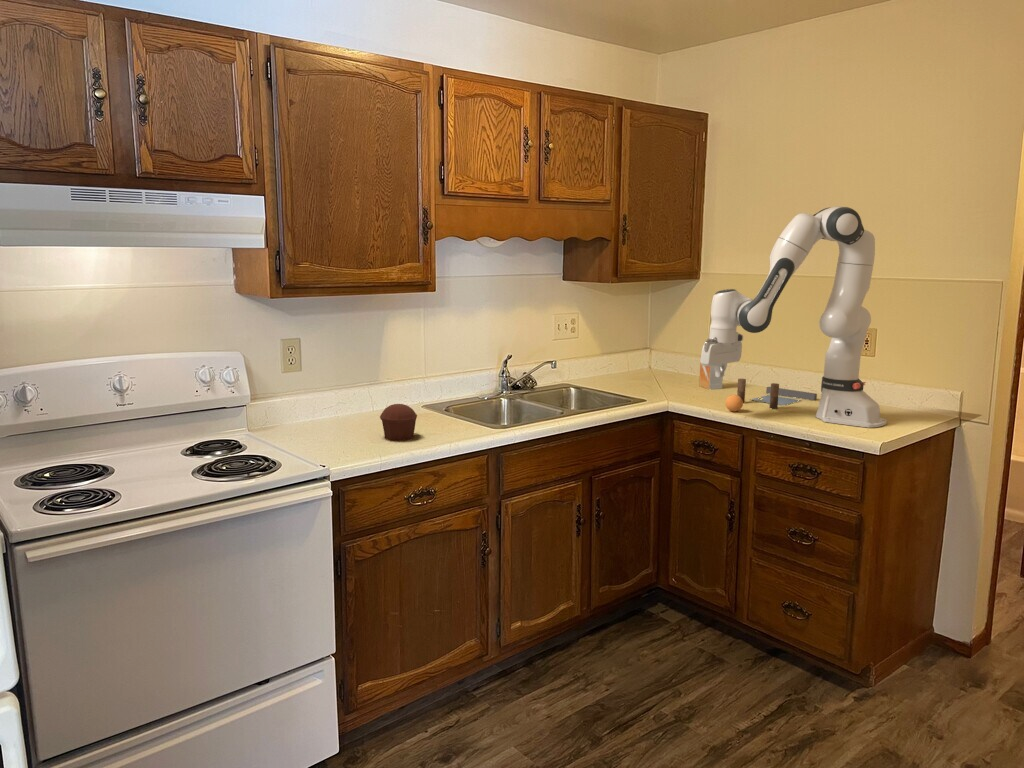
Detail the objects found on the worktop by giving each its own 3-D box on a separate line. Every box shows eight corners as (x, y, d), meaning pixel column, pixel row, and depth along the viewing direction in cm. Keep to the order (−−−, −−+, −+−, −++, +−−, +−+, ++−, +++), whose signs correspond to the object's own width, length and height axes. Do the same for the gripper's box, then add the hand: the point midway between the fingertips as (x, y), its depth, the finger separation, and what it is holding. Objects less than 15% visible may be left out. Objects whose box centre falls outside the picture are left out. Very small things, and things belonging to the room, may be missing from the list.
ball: (745, 411, 277) (746, 395, 276) (736, 413, 273) (737, 397, 272) (730, 408, 281) (731, 392, 280) (721, 411, 277) (722, 394, 276)
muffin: (423, 439, 235) (423, 406, 233) (388, 443, 229) (388, 410, 227) (408, 431, 245) (407, 399, 243) (374, 435, 239) (374, 403, 237)
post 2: (778, 408, 283) (780, 384, 282) (775, 409, 281) (776, 384, 280) (771, 407, 285) (773, 383, 284) (767, 408, 283) (769, 383, 282)
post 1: (745, 402, 293) (747, 379, 291) (741, 403, 291) (743, 380, 289) (739, 401, 295) (740, 378, 293) (735, 402, 293) (736, 379, 291)
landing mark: (801, 400, 297) (801, 400, 297) (783, 405, 288) (783, 405, 288) (768, 395, 307) (768, 395, 307) (749, 400, 298) (749, 399, 298)
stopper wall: (816, 400, 299) (817, 393, 299) (814, 400, 298) (814, 394, 297) (768, 392, 313) (769, 386, 313) (766, 393, 312) (766, 387, 312)
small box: (698, 386, 327) (700, 355, 324) (712, 385, 329) (713, 355, 326) (709, 389, 319) (710, 358, 317) (722, 389, 321) (724, 357, 319)
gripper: (713, 340, 256) (710, 381, 259) (746, 335, 270) (743, 374, 273) (697, 338, 261) (694, 378, 263) (730, 333, 275) (727, 372, 277)
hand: (719, 376), depth 268 cm, fingers closed
